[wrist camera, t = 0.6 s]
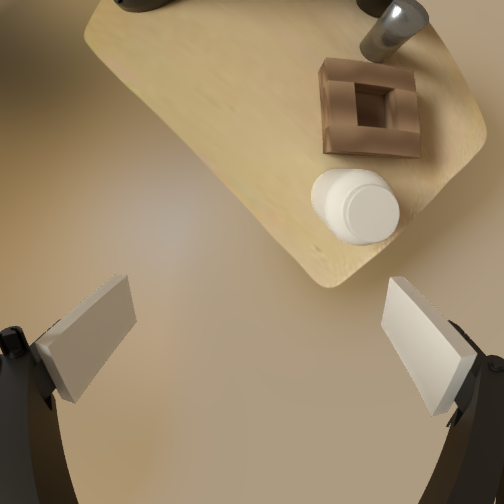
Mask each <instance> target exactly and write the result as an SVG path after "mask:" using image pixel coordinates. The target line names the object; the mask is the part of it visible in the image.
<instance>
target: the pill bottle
mask: <svg viewBox="0 0 504 504" xmlns="http://www.w3.org/2000/svg"><path fill="white" fill-rule="evenodd" d="M311 201H312V205H313V208H314V210H315V212H316V214H317V215H318V216H319V218H320V219H321V220H322V221H323V222H324V223H325V224H326V225H327V227H328V228H329V229H330V230H331V231H332V232H333V233H334V235H335V236H337V237H338V238H339V239H340V240H342V241H343V242H345V243H348V244H351V245H356V246H365V245H370V244H373V243H378V242H381V241H383V240H385V239H387V238H388V237H389V236H390V235H392V233H393V232H394V231H395V229H396V227H397V225H398V222H399V218H400V210H399V209H400V208H399V204H398V202H397V199H396V197H395V195H394V193H393V191H392V189H391V187H390V185H389V184H388V183H387V182H386V180H385V179H384V178H382V177H381V176H380V175H378V174H376V173H374V172H372V171H369V170H363V169H347V168H335V169H331V170H328V171H326V172H324V173H323V174H321V175H320V176H319V177H318V178H317V180H316V181H315V183H314V185H313V188H312V192H311Z"/></svg>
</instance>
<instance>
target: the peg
mask: <svg viewBox="0 0 504 504" xmlns="http://www.w3.org/2000/svg"><path fill="white" fill-rule="evenodd" d="M428 22H429V16H428V13H427V12H426V10H425V9H424V8H423V6H422V5H421V4H420V3H418V2H417V1H416V0H393V2H392V3H391V4H390V5H389V7H388V8H387V9H386V11H385V12H384V13H383V14H382V16H381V17H380V18H379V20H378V21H377V22H376V23H375V25H374V26H373V27H372V29H371V30H370V31H369V33H368V34H367V35H366V37H365V38H364V39H363V41H362V42H361V44H360V50H361V53H362V54H363V56H364V57H365V58H366V59H368V60H369V61H372V62H375V63H381V62H383V61H385V60H386V59H387V58H388V57H389V56H390V55H391V54H392V53H394V52H395V51H396V50H397V49H398V48H399V47H401V46H402V45H403V44H404V43H405V42H406V41H408V40H409V39H410V38H411V37H412V36H413V35H415V34H416V33H417V32H418V31H419V30H421V29H422V28H423V27H424V26H425V25H427V24H428Z"/></svg>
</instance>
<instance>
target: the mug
mask: <svg viewBox="0 0 504 504" xmlns="http://www.w3.org/2000/svg"><path fill="white" fill-rule="evenodd" d="M356 1H357V4H358V6H359V7H360V9H361V10H363V11H364V12H365V13H367V14H368V15H371V16H373V17H381V16H382V14H383V13H384V12H385V11H386V9H387V8H388V7H389V5H390V4H391V3H392V2H393V0H356Z"/></svg>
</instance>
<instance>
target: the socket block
mask: <svg viewBox="0 0 504 504" xmlns="http://www.w3.org/2000/svg"><path fill="white" fill-rule="evenodd" d="M318 76H319V87H320V100H321V115H322V134H323V153H325V154H351V155H368V156H381V157H392V158H421V139H420V123H419V111H418V102H417V93H416V86H415V79H414V73H413V71H411V70H407V69H402V68H398V67H393V66H388V65H382V64H376V63H370V62H363V61H356V60H347V59H337V58H325V60H324V62H323V64H322V66H321V68H320V70H319V72H318Z"/></svg>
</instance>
